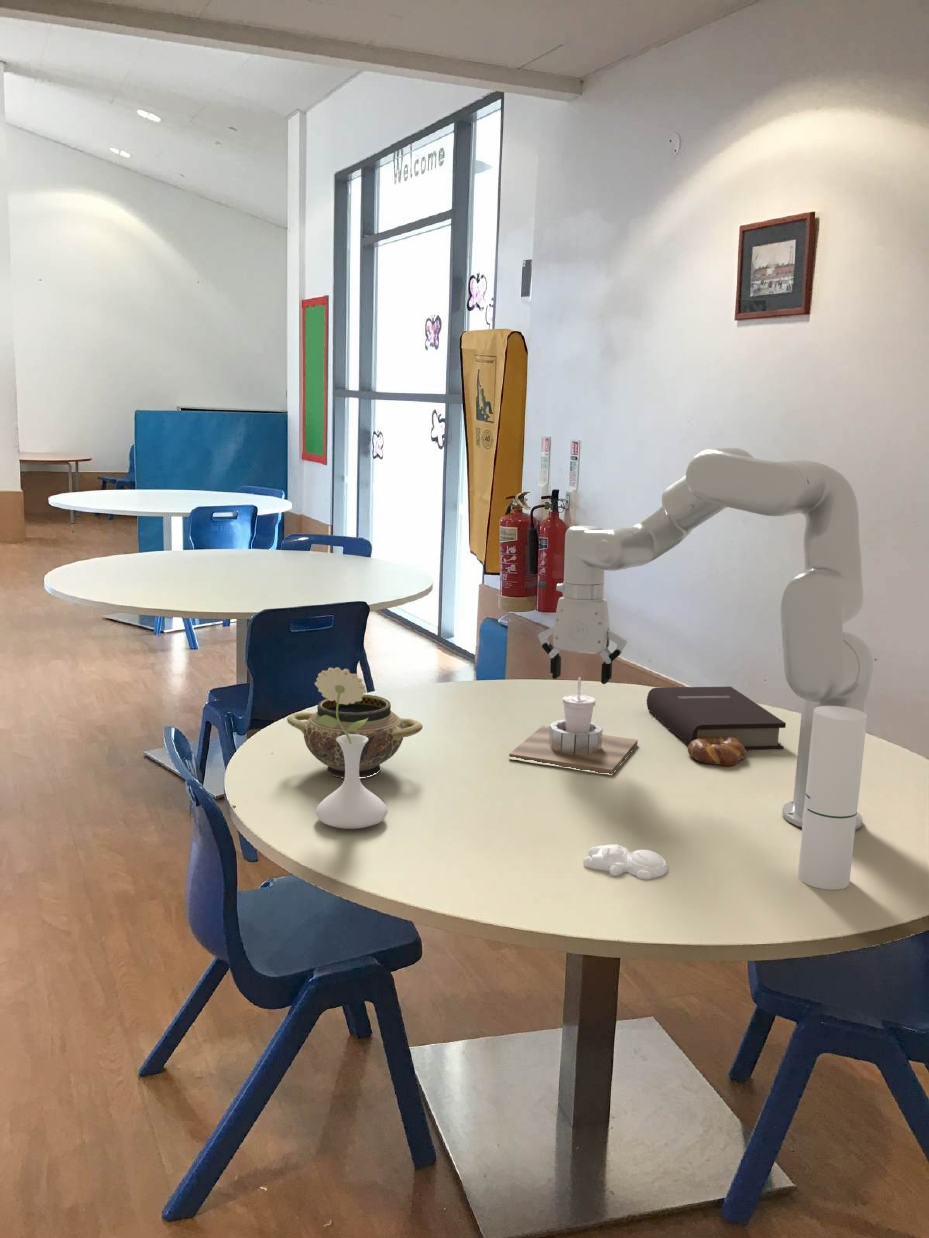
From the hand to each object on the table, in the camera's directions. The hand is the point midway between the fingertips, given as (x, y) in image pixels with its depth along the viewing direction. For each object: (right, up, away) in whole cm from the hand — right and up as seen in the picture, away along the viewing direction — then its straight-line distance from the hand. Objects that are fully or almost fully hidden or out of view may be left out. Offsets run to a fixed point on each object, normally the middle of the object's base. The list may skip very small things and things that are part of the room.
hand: (580, 679), depth 206 cm
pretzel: (+27, -15, +3) cm, 31 cm away
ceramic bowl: (-42, -16, -11) cm, 47 cm away
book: (+30, -12, +21) cm, 39 cm away
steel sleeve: (-1, -13, +3) cm, 13 cm away
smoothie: (0, -13, +3) cm, 14 cm away
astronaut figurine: (+1, -25, -47) cm, 54 cm away
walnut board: (-1, -14, +3) cm, 15 cm away
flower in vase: (-41, -21, -34) cm, 57 cm away
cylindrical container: (+30, -26, -50) cm, 64 cm away
